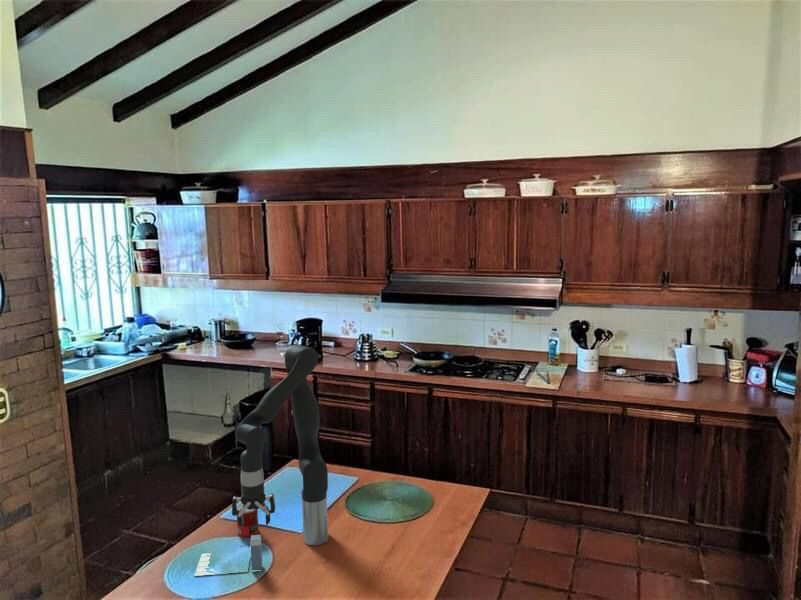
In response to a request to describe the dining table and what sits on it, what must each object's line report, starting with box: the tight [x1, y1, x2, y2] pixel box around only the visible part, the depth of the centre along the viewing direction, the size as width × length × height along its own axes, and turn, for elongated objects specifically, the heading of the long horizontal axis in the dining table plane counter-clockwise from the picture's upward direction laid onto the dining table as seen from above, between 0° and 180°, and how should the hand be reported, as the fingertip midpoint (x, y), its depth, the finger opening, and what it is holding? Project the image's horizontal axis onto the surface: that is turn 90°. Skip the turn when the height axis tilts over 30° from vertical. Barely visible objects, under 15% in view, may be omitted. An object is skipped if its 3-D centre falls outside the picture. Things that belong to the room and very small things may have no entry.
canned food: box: [236, 502, 260, 539], centre depth 232 cm, size 8×8×11 cm
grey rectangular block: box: [249, 534, 264, 571], centre depth 209 cm, size 3×3×12 cm
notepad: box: [193, 552, 219, 578], centre depth 213 cm, size 18×13×1 cm
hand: (254, 524), depth 207 cm, fingers open, 8 cm apart
